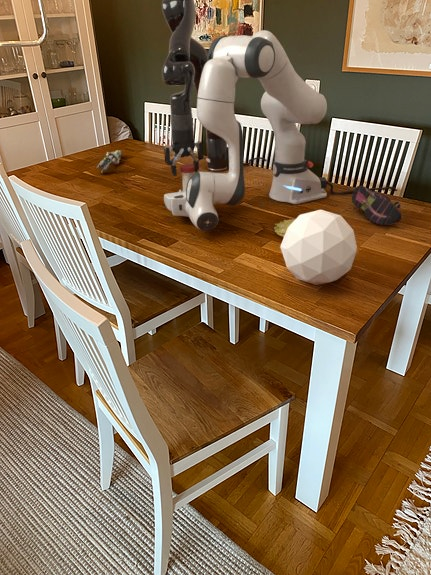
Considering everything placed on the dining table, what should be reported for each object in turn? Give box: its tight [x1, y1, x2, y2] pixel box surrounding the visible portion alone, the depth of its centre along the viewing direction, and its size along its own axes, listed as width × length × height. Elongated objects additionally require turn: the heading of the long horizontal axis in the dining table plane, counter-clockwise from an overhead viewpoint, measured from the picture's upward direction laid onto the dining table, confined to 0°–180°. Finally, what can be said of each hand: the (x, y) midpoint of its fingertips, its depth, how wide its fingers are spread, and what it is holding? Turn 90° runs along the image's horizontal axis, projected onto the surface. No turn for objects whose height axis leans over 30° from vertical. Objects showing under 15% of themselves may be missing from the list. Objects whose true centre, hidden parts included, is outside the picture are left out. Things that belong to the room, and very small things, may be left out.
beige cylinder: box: [181, 172, 195, 192], centre depth 163 cm, size 4×4×15 cm
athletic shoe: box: [351, 185, 403, 226], centre depth 153 cm, size 11×22×12 cm
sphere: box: [279, 209, 358, 286], centre depth 117 cm, size 19×20×20 cm
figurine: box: [96, 150, 123, 174], centre depth 213 cm, size 7×8×30 cm
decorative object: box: [273, 218, 296, 238], centre depth 145 cm, size 21×2×20 cm
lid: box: [179, 163, 195, 174], centre depth 159 cm, size 5×5×2 cm
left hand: (185, 173), depth 160 cm, fingers open, 7 cm apart
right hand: (188, 190), depth 164 cm, fingers closed on beige cylinder, 4 cm apart
